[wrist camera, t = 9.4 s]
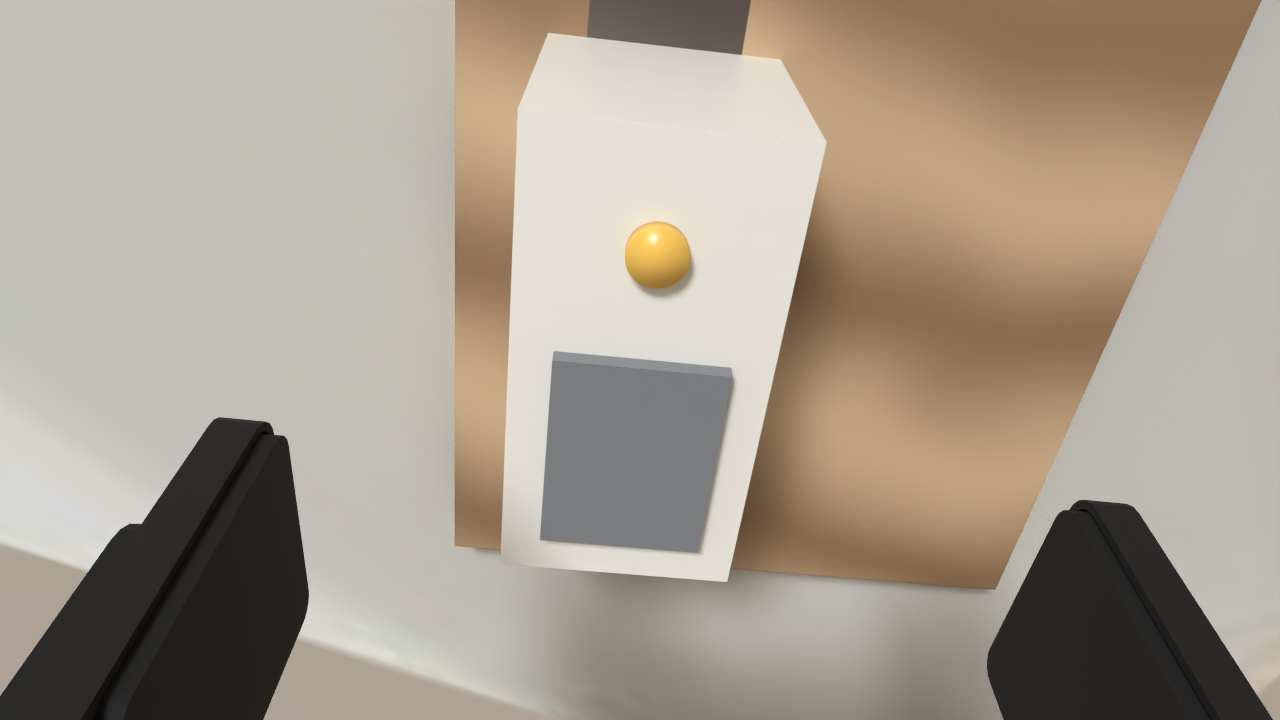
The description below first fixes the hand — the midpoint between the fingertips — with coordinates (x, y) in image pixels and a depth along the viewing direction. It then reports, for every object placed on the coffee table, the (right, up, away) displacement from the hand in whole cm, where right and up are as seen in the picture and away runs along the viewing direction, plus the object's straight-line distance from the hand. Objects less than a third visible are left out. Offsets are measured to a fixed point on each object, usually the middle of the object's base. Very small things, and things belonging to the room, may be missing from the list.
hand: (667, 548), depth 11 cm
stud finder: (0, +5, +8) cm, 10 cm away
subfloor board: (+3, +5, +10) cm, 11 cm away
